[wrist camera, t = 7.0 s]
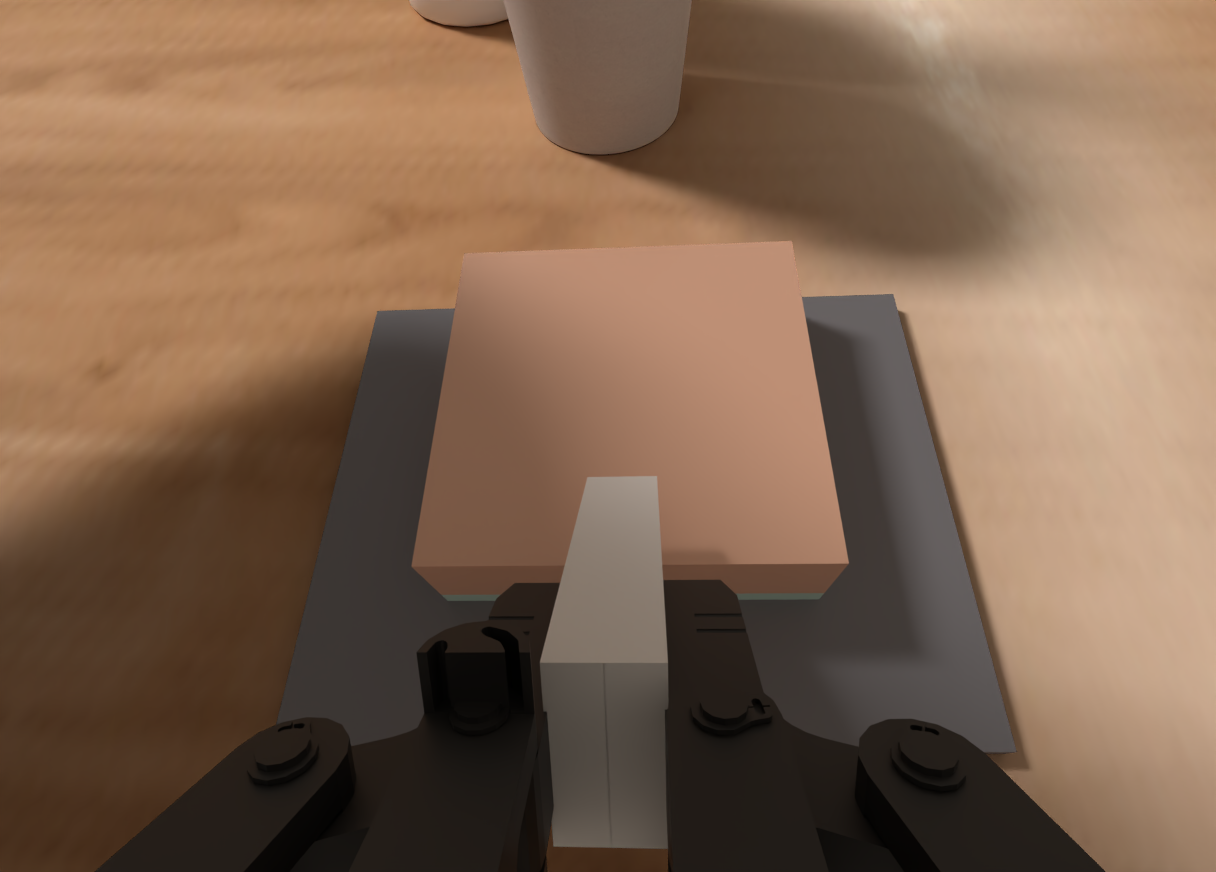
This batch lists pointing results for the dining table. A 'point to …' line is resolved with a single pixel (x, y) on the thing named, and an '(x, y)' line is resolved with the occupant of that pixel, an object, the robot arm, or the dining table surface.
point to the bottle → (461, 11)
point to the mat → (777, 629)
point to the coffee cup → (601, 68)
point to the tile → (631, 418)
